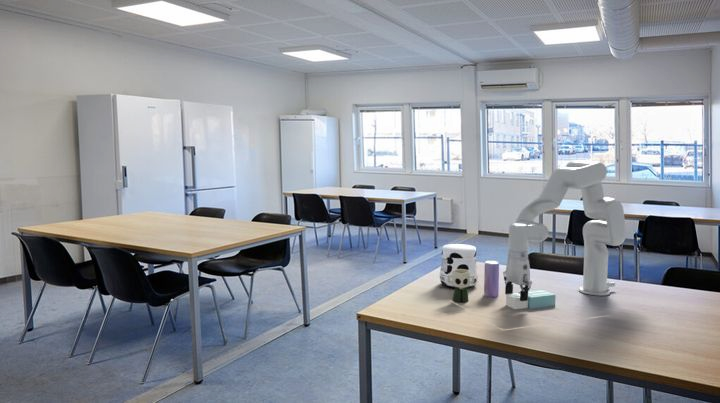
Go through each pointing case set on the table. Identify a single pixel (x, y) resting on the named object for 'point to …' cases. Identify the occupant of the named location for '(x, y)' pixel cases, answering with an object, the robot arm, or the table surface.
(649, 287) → the table surface
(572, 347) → the table surface
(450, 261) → the milk container
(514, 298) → the white box
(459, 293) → the character mug
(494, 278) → the beverage can
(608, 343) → the table surface
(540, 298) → the striped teal box
